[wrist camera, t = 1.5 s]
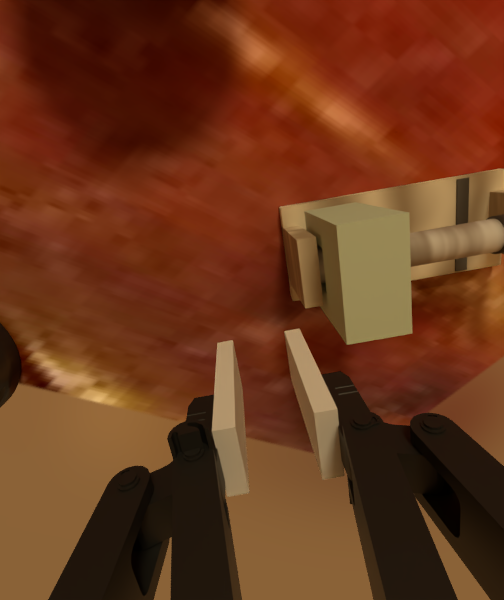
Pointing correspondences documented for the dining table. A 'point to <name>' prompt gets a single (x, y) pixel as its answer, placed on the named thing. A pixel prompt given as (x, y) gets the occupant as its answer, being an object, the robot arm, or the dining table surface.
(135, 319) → the dining table surface
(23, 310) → the dining table surface
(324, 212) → the square sliding block
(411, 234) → the rail stand
